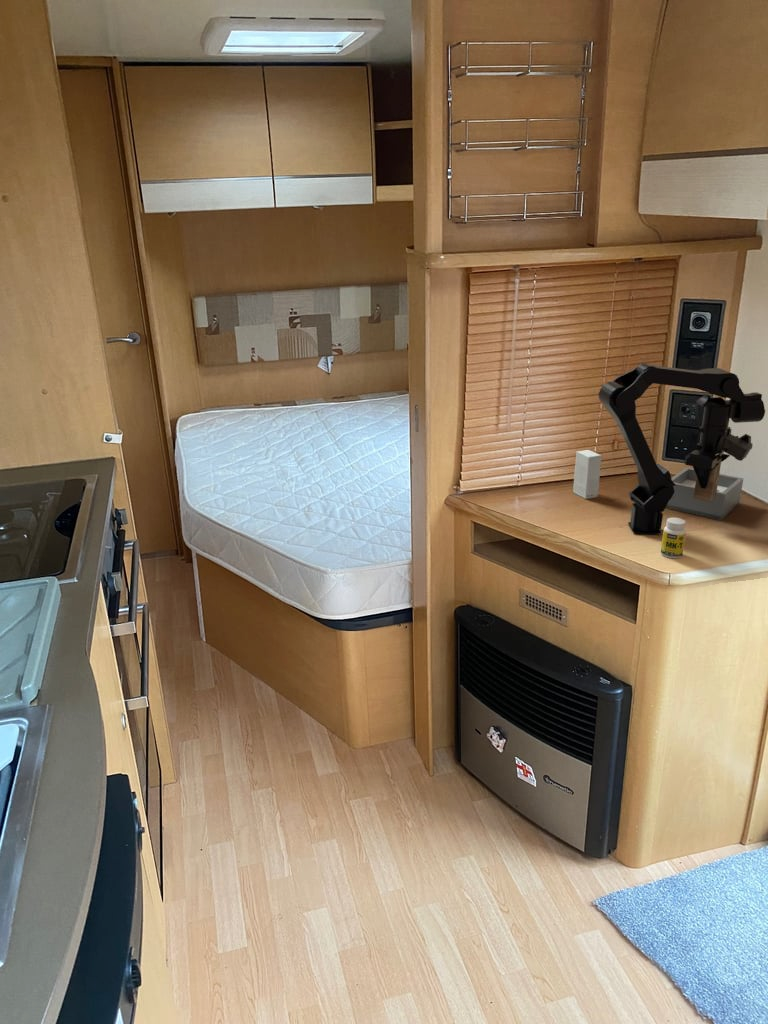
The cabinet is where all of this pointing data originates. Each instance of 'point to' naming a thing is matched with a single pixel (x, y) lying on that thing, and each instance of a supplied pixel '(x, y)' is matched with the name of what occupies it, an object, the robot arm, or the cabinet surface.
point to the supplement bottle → (673, 538)
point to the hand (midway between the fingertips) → (706, 485)
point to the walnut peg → (708, 485)
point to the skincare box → (587, 474)
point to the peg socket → (715, 509)
